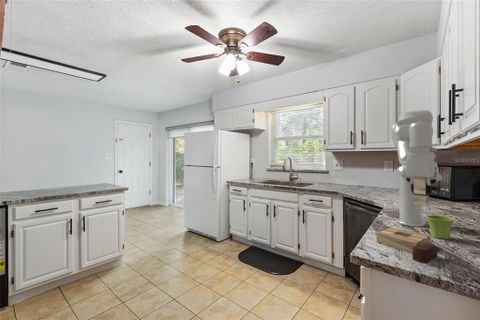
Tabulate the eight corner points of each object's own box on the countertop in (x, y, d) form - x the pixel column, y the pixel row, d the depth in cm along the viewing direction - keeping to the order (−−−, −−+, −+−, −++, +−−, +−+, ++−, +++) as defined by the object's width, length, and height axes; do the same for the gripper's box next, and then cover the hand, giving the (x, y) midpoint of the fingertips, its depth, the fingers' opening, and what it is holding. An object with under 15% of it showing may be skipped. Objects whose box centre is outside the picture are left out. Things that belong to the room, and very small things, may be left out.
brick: (426, 264, 75) (426, 250, 75) (412, 260, 79) (412, 246, 79) (438, 257, 81) (438, 244, 81) (424, 253, 84) (424, 240, 84)
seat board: (392, 235, 103) (391, 227, 103) (430, 245, 91) (430, 235, 91) (376, 242, 95) (376, 232, 95) (416, 253, 84) (416, 242, 84)
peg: (417, 202, 100) (417, 175, 100) (429, 203, 96) (428, 175, 96) (413, 203, 97) (413, 175, 97) (425, 204, 94) (425, 176, 94)
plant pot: (420, 234, 104) (420, 215, 104) (437, 232, 106) (437, 214, 106) (443, 241, 95) (442, 221, 95) (460, 239, 97) (460, 219, 97)
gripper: (449, 150, 92) (449, 195, 92) (401, 151, 106) (402, 190, 106) (443, 150, 88) (443, 197, 88) (394, 151, 102) (395, 192, 102)
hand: (421, 193), depth 97 cm, fingers closed on peg, 4 cm apart
